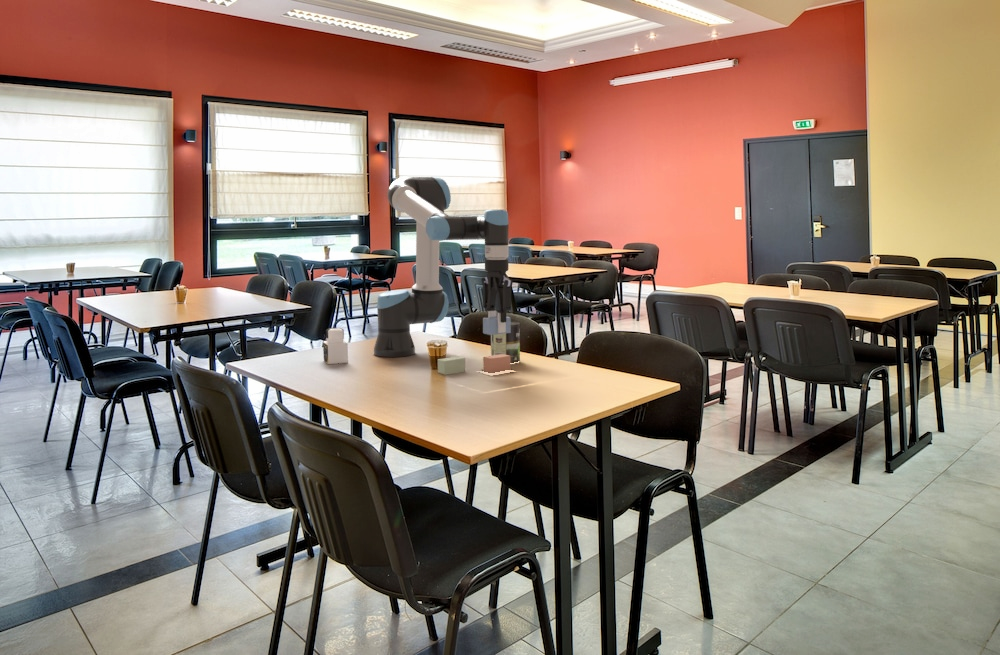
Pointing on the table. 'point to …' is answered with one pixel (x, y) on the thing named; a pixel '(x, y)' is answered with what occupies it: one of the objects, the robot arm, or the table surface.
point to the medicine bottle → (335, 347)
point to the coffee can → (507, 343)
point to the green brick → (451, 365)
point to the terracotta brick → (496, 363)
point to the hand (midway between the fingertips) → (496, 331)
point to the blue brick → (495, 325)
